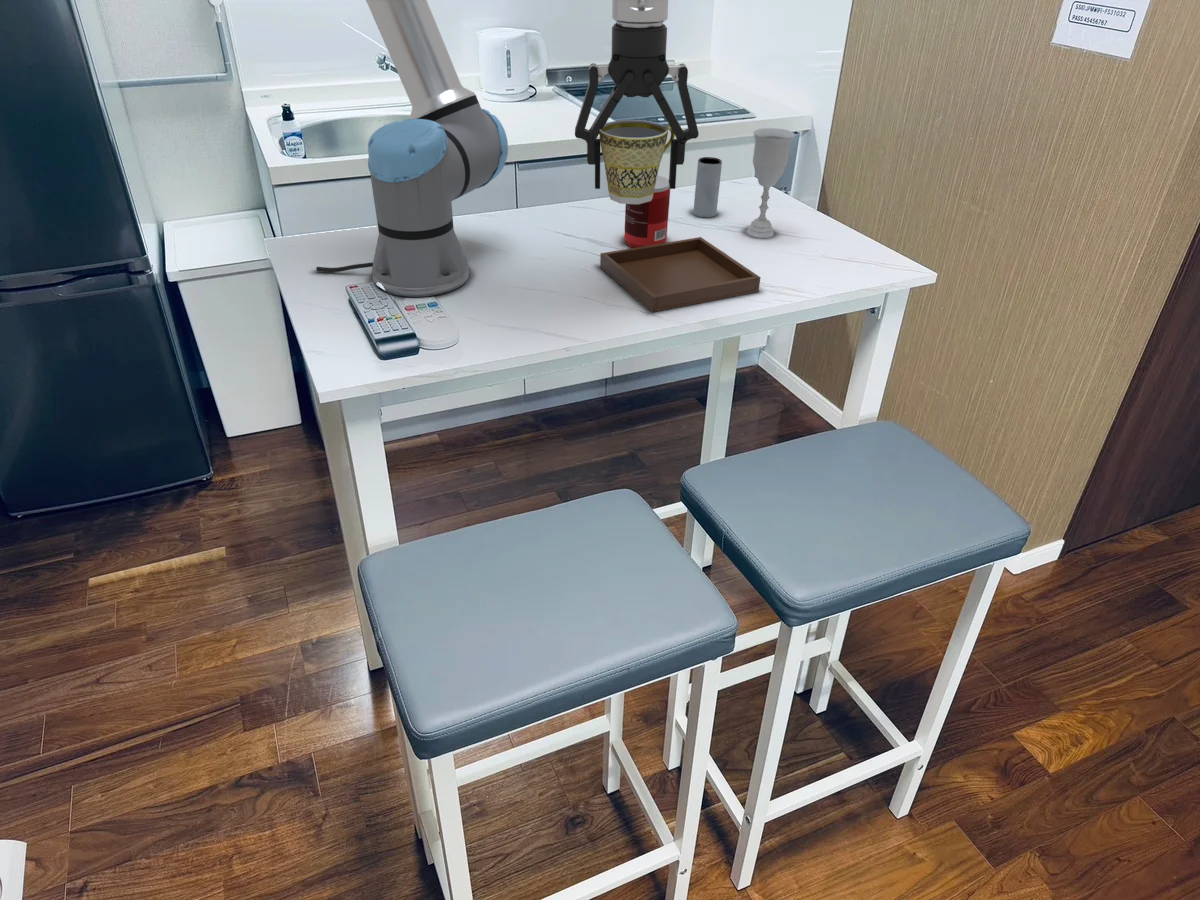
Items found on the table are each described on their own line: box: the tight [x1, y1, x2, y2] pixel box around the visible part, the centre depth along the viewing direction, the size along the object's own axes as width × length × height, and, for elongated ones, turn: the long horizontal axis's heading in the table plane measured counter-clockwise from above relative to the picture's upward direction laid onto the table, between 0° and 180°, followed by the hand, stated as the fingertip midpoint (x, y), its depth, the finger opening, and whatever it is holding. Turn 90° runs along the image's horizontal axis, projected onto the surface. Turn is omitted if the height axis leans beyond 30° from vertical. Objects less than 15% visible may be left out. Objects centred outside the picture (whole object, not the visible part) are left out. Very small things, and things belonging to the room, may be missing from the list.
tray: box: [599, 236, 761, 313], centre depth 138 cm, size 20×19×2 cm
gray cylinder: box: [692, 156, 723, 218], centre depth 161 cm, size 4×4×10 cm
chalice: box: [746, 127, 796, 239], centre depth 151 cm, size 7×7×18 cm
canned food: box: [623, 175, 671, 248], centre depth 148 cm, size 8×8×11 cm
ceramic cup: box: [598, 119, 675, 205], centre depth 124 cm, size 13×10×10 cm
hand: (634, 186), depth 126 cm, fingers closed on ceramic cup, 10 cm apart
